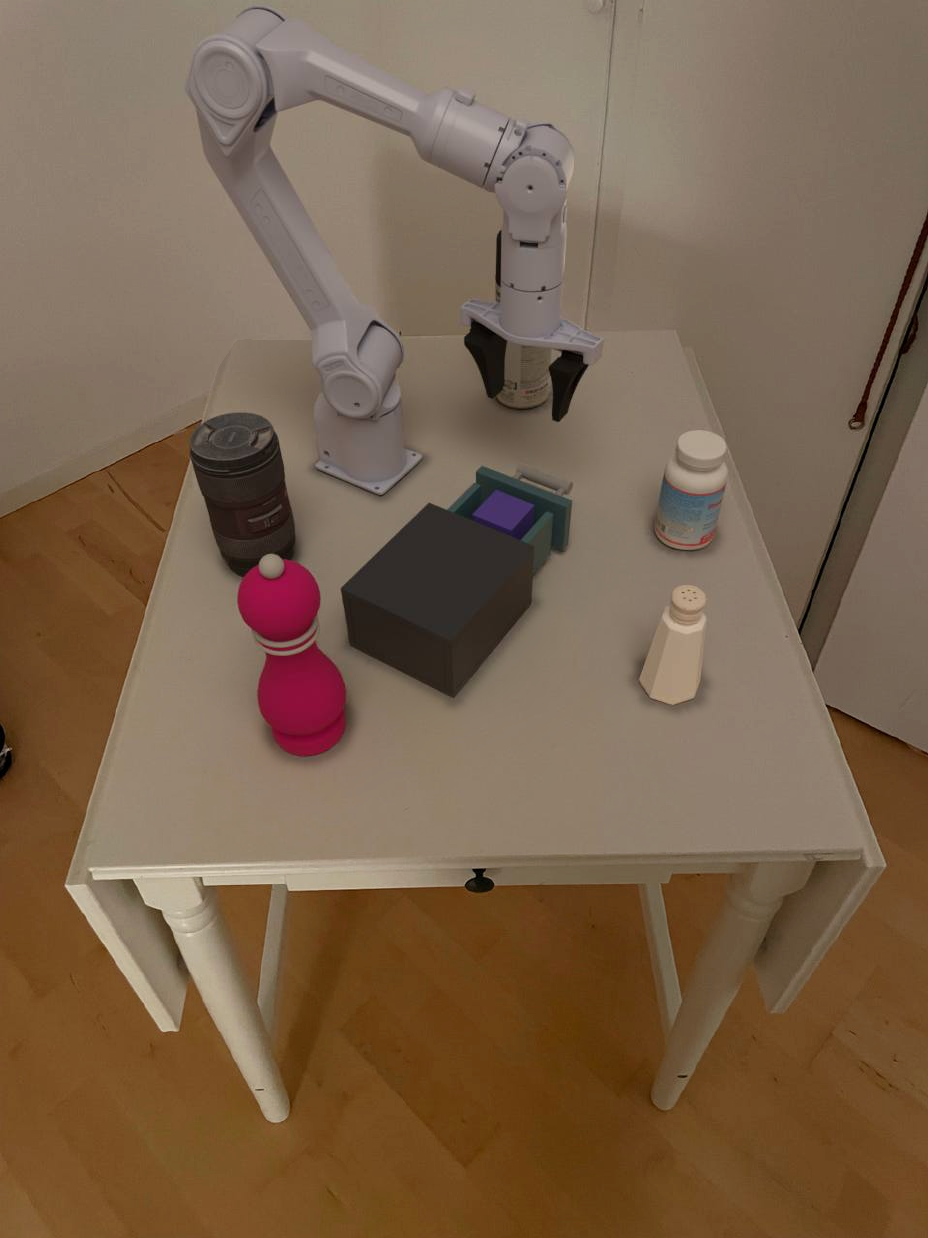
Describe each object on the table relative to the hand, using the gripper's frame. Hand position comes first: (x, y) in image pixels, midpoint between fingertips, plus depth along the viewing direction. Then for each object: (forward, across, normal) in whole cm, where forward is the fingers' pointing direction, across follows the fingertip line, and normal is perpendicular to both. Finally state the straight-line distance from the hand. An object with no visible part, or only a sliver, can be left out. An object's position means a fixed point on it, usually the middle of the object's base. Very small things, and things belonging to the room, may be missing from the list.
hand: (527, 404), depth 93 cm
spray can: (+11, +9, -15) cm, 20 cm away
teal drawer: (+9, -4, +11) cm, 15 cm away
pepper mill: (+11, -1, +38) cm, 39 cm away
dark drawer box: (+10, -4, +22) cm, 25 cm away
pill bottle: (+11, -18, -2) cm, 21 cm away
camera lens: (+11, +17, +24) cm, 31 cm away
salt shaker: (+11, -25, +17) cm, 32 cm away
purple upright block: (+8, -4, +11) cm, 15 cm away
